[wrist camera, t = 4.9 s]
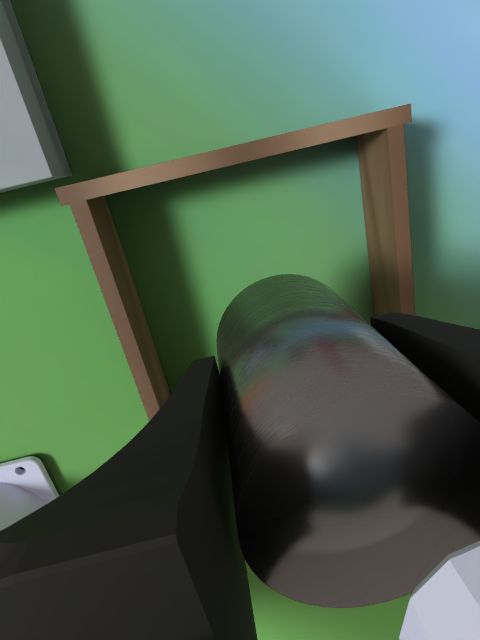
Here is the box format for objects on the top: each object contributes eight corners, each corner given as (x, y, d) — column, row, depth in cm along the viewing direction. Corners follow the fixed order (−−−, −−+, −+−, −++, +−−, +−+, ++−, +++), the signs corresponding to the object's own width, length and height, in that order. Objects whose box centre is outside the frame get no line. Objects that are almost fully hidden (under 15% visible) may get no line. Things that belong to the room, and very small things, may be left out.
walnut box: (162, 422, 21) (157, 460, 18) (78, 184, 17) (54, 188, 14) (396, 364, 21) (426, 393, 18) (375, 114, 17) (410, 103, 14)
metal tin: (233, 412, 14) (266, 632, 7) (201, 293, 12) (206, 438, 6) (357, 381, 14) (500, 572, 7) (341, 259, 12) (508, 363, 6)
